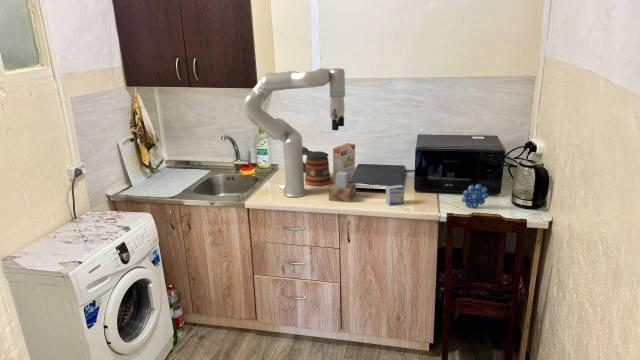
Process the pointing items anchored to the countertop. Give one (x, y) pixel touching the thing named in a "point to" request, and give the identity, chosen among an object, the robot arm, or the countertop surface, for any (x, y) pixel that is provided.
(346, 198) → the walnut block
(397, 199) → the medicine box
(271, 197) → the countertop surface
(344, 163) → the cracker box
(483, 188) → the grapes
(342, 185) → the slate box
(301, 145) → the robot arm
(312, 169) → the beer stein
